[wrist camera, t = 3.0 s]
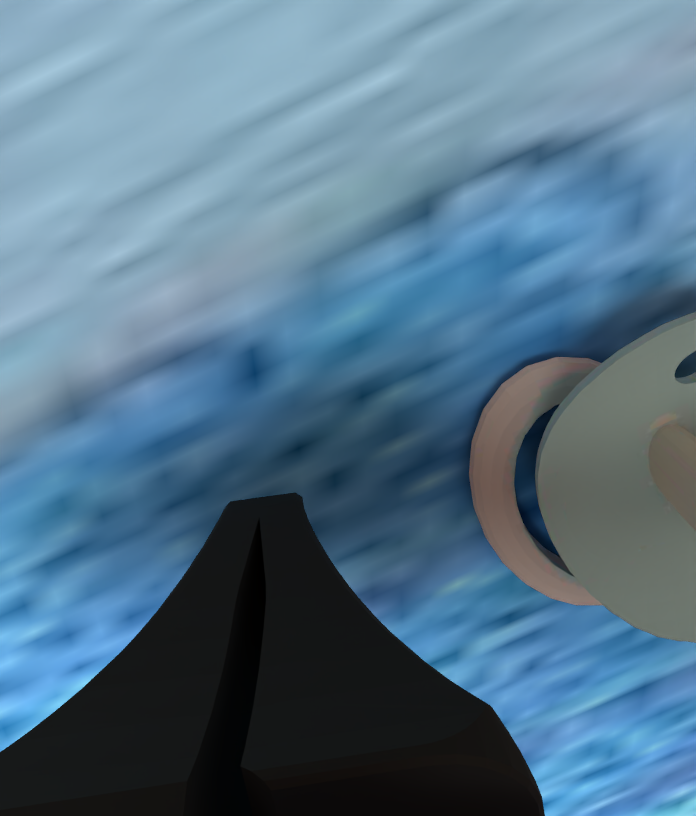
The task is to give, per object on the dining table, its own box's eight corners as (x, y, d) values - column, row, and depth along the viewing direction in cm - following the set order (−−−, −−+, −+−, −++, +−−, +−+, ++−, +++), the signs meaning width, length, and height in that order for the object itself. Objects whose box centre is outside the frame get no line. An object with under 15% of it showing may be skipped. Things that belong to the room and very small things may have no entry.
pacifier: (533, 625, 16) (777, 523, 15) (659, 917, 10) (1058, 784, 10) (407, 384, 13) (705, 239, 12) (490, 617, 7) (1056, 379, 6)
